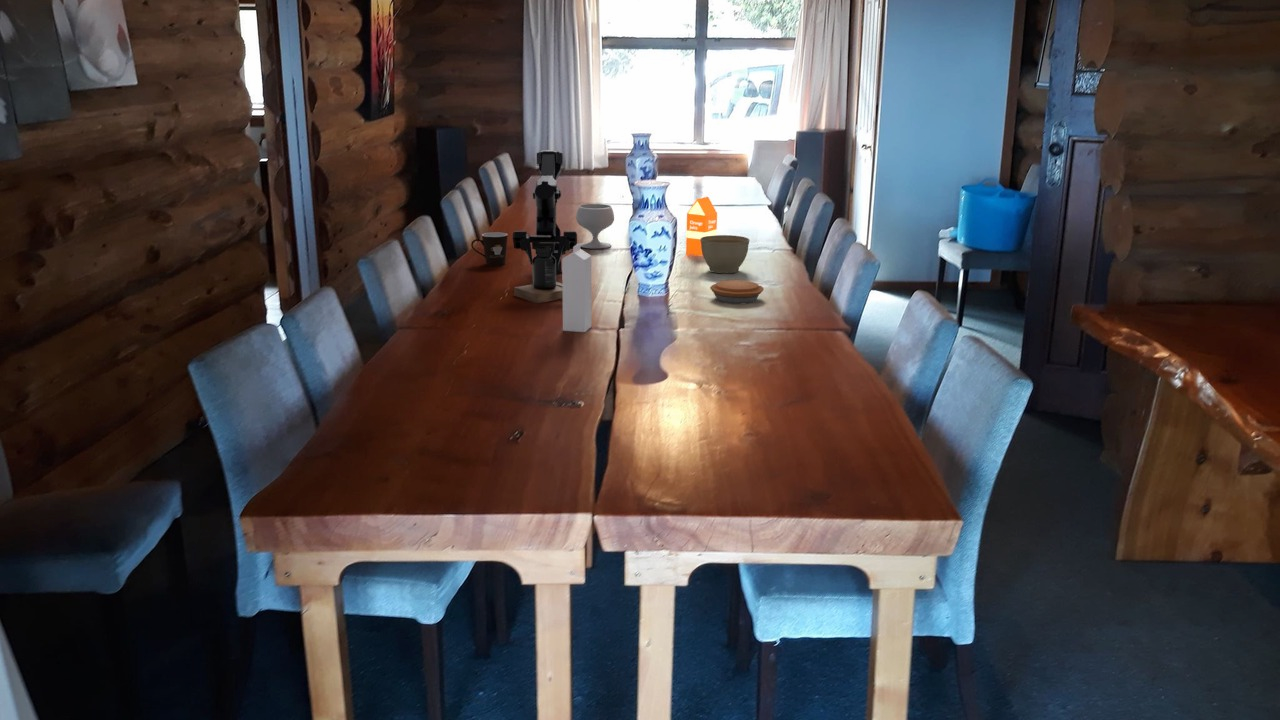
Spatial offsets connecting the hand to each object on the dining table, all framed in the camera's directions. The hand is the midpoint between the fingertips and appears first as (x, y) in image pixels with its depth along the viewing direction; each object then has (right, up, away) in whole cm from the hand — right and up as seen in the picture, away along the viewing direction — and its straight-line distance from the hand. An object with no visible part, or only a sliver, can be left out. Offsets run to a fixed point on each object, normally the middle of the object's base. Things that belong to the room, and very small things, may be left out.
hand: (544, 264), depth 296 cm
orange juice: (+50, +10, +72) cm, 88 cm away
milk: (+11, -20, -31) cm, 39 cm away
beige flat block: (0, -9, +4) cm, 10 cm away
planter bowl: (+55, +1, +42) cm, 70 cm away
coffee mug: (-23, +4, +49) cm, 54 cm away
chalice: (+11, +14, +83) cm, 85 cm away
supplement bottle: (0, -7, +4) cm, 8 cm away
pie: (+56, -10, +3) cm, 57 cm away
